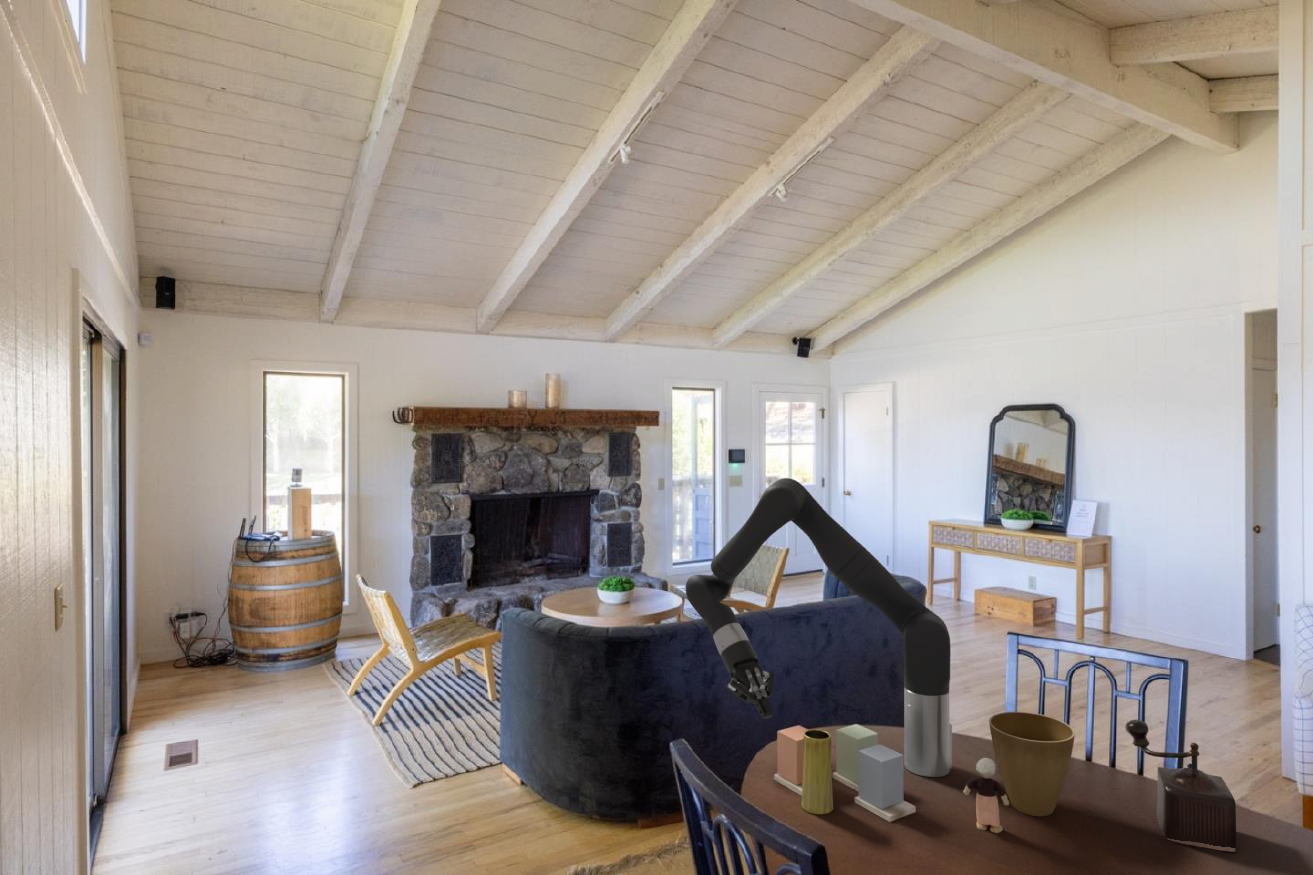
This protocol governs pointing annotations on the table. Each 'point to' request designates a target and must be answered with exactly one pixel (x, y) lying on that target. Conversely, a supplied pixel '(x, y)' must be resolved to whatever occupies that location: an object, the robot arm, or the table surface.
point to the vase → (817, 772)
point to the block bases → (859, 799)
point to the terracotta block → (791, 753)
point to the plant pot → (1032, 758)
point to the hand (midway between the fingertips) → (768, 716)
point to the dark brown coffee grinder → (1190, 798)
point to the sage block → (852, 748)
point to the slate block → (880, 776)
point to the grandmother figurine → (987, 796)
